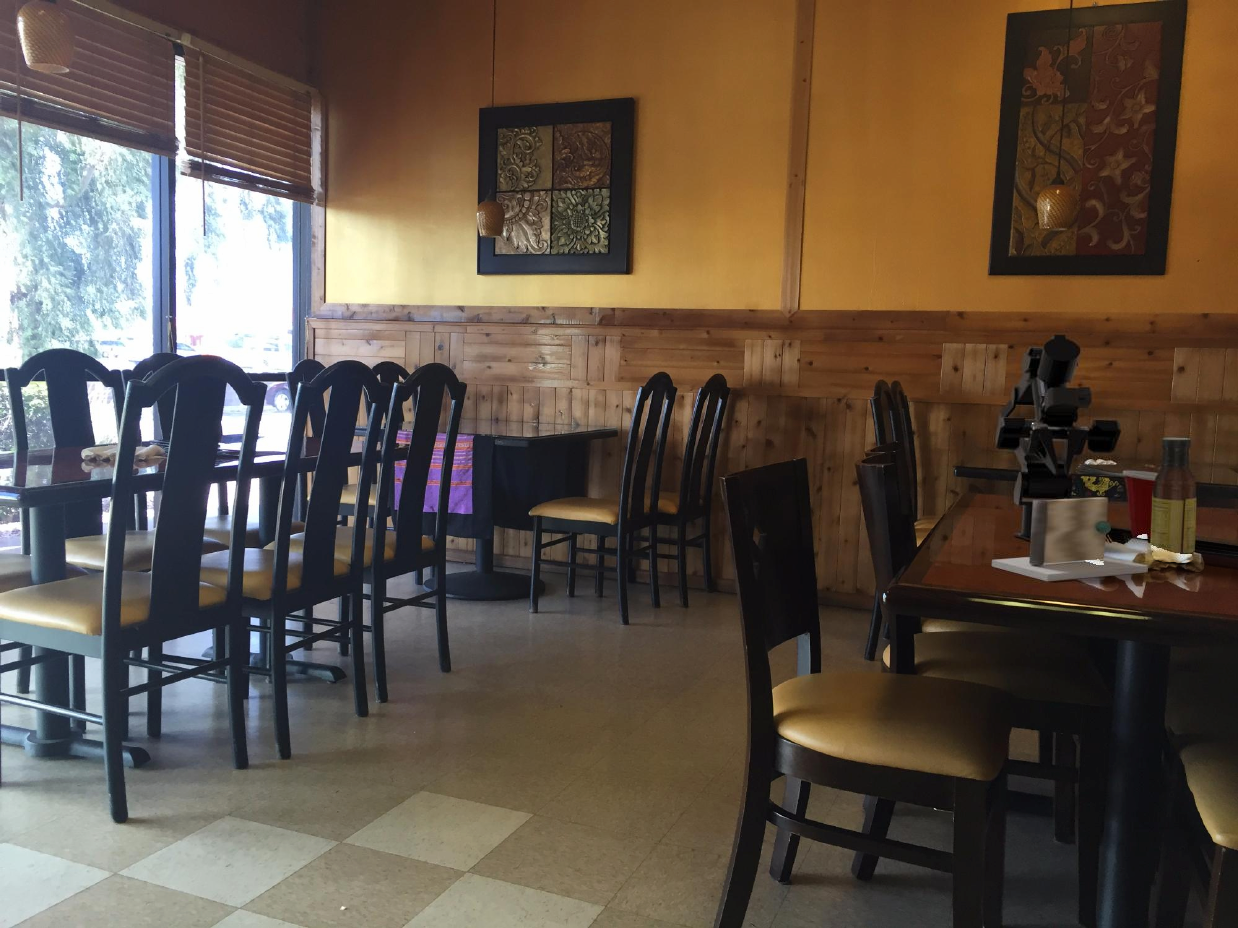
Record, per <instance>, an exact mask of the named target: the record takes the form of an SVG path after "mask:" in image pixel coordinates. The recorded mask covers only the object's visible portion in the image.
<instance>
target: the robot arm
mask: <svg viewBox="0 0 1238 928" xmlns="http://www.w3.org/2000/svg"><path fill="white" fill-rule="evenodd" d="M1081 351H1082V350H1081V347H1080V346H1079V345H1078V344H1077V343H1076V342H1075V341H1072V340H1071V339H1068V338H1067V337H1066V334H1053V335H1052V338H1051V339H1050V340H1048V341H1046V342H1045V344H1044V346H1043V347H1038V346H1036V347H1033V346H1030V347H1029V348H1028V349H1027V350H1026V353H1024V354H1023V356H1022V361H1021V371H1022V373H1023V374H1022V376H1021V378H1020V379H1019V381H1018V383H1017V385H1015V386H1012V388H1011V396H1010V399H1009V401H1007V403H1006V404H1005V405H1004V406H1003V407H1002V408H1001V410H1000V412H999V416H998V423H997V429H996V433H995V448H996V449H998V450H1006V451H1010V452H1014V454H1015V455H1016V458H1017V460H1018V462H1019V465H1020V466H1021V471H1019V472H1018V475H1017V479H1016V482H1015V486H1014V489H1013V502H1014V503H1015V504H1016V505H1017V506H1019V507H1020V506H1022V515H1021V516H1022V518H1021V530H1020V531H1021V532H1013V536H1015V537H1017V538H1021V539H1022V540H1025V541H1030V542H1031V526H1032V509H1033V500H1040V499H1042V500H1043V501H1044V500H1045V499H1047V500H1060V499H1072V498H1071V497H1072V493H1073V491H1074V490H1073V489H1074V487H1075V481H1074V480H1073V476H1072V474H1071V473H1070V470H1071V468H1072V463H1073V460H1074V458H1075V457H1076V456H1081V455H1082V454H1083V451H1084V448H1085V446H1086V448H1087V450H1089V451H1091V452H1092V453H1098V454H1102V453H1104V454H1105V453H1106V454H1110V453H1112V452H1115V449H1116V447H1117V444H1118V441H1119V438H1120V435H1121V433H1122V429H1121V424H1120V422H1119V421H1118V420H1115V419H1095V418H1094V419H1092V422H1091V424H1090V428H1089V426H1078V425H1076V426H1075V423H1077V422H1078V419H1079V414H1078V410H1080V409H1089V408H1090V406H1091V404H1092V403H1093V402H1092V401H1093V399H1092V398H1093V397H1092V390H1091V387H1090V386H1078V387H1069V385H1068V383H1071V382H1072V380H1073V379H1074V376H1075V375H1074V374H1075V371H1076V368H1078V367H1079V358H1080V355H1081ZM1018 406H1019V407H1020V406H1021V407H1022V406H1023V407H1034V412H1035V413H1034V414H1035V416H1034V419H1028V418H1025V417H1019V416H1017V417H1015V416H1014V417H1013V416H1011V414H1012V413H1013V412H1014V411H1015V410H1016V407H1018ZM1009 416H1010V417H1009ZM1054 442H1064V443H1065V444H1064V447H1063V451H1062V457H1061V456H1059V455H1057V454H1056V451H1055V446H1054Z"/></svg>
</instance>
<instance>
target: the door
mask: <svg viewBox="0 0 1238 928" xmlns="http://www.w3.org/2000/svg"><path fill="white" fill-rule="evenodd" d="M1043 500H1044V501H1043ZM1108 504H1109V498H1108V497H1085V498H1071V499H1039V500H1033V509H1032V526H1031V541H1030V542H1029V543H1030V548H1029V557H1030V559H1029V563H1030V564H1034V565H1043V564H1048V563H1060V562H1072V561H1085V560H1097V559H1104V556H1105V551H1106V550H1105V549H1106V547H1105V546H1106V536H1107V534H1108V533H1109V532H1110V531H1111V529H1112V527H1111V524H1110V522H1108V521H1107V519H1108V518H1107V517H1108Z"/></svg>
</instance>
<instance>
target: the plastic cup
mask: <svg viewBox="0 0 1238 928" xmlns="http://www.w3.org/2000/svg"><path fill="white" fill-rule="evenodd" d="M1122 474H1123V475H1124V479H1125V481H1124V483H1125V489H1126V494H1127V495H1126V496H1127V504H1128V505H1127V506H1128V516H1129V519H1130V521H1129V523H1130V529H1131V534H1132V537H1133V538H1134V537H1137V536H1138V535H1142V534H1147V535H1148V538H1149V540H1148V541H1151V520H1152V491H1153V487H1154V482H1155V478H1156V476H1157V474H1158V472H1152V471H1151V472H1150V471H1141V470H1123V471H1122Z"/></svg>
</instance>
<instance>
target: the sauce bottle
mask: <svg viewBox="0 0 1238 928" xmlns="http://www.w3.org/2000/svg"><path fill="white" fill-rule="evenodd" d="M1191 447H1192V440H1191V438H1187V437H1163V438H1162V439H1161V448H1162V458H1161V466H1160V468H1159V471H1158V472H1157V473H1158V474H1157V476H1156V478H1155V482H1154V487H1153V491H1152V520H1151V540H1150V545H1153V546H1156V547H1157V548H1162V549H1164V550H1167V551H1170V552H1174V553H1180V554H1193V555H1194V552H1195V548H1196V523H1197V521H1196V519H1197V494H1196V493H1197V492H1196V491H1197V483H1196V477H1195V476H1194V474H1193V473H1192V471H1191V469H1190V459H1189V458H1190V457H1189V456H1190V448H1191Z"/></svg>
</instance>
